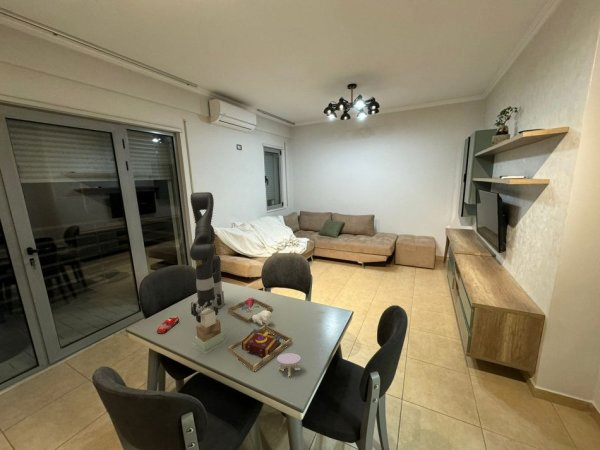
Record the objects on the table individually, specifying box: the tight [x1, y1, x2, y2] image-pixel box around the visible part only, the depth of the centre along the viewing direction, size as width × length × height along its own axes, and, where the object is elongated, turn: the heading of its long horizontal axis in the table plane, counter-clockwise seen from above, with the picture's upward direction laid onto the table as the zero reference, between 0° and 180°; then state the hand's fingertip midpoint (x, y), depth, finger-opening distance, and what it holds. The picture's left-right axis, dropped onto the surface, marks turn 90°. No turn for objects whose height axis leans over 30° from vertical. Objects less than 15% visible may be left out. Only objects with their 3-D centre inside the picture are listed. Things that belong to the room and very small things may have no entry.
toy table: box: [276, 352, 302, 378], centre depth 101 cm, size 10×9×6 cm
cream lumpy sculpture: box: [251, 309, 273, 326], centre depth 134 cm, size 6×8×12 cm
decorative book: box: [241, 329, 282, 358], centre depth 115 cm, size 11×16×5 cm
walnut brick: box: [195, 318, 222, 342], centre depth 117 cm, size 9×6×6 cm, turn 141°
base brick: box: [194, 331, 224, 351], centre depth 117 cm, size 10×8×4 cm
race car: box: [156, 315, 180, 334], centre depth 132 cm, size 13×5×4 cm, turn 167°
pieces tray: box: [227, 297, 273, 325], centre depth 148 cm, size 19×20×2 cm
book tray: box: [227, 324, 293, 372], centre depth 115 cm, size 24×19×2 cm
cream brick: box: [200, 308, 217, 328], centre depth 116 cm, size 5×5×6 cm
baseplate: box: [191, 337, 228, 355], centre depth 118 cm, size 12×12×1 cm
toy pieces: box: [241, 297, 260, 314], centre depth 152 cm, size 12×11×4 cm
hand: (207, 318), depth 116 cm, fingers open, 8 cm apart
